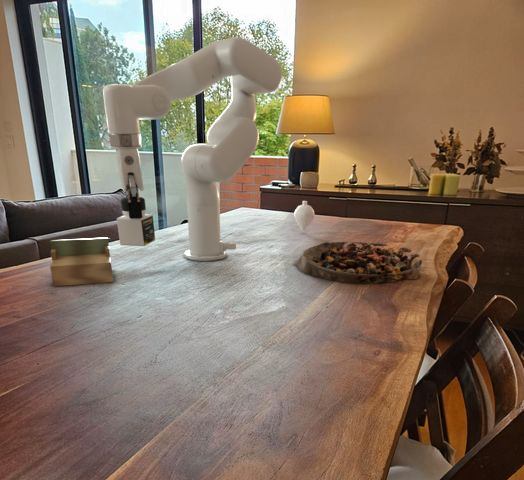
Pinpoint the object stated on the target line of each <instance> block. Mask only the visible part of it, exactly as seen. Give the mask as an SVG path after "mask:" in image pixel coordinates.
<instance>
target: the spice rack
mask: <svg viewBox="0 0 524 480" xmlns="http://www.w3.org/2000/svg"><path fill="white" fill-rule="evenodd" d="M49 243H50V247H51V250H50V257H51V262H50V266H49V270H50V274H51V279H52V284H53V287H63V286H64V287H65V286H75V285H90V284H102V283H103V284H105V283H113V282H114V275H113V268H112V259H111V252H110V245H109V238H108V237H91V238H90V237H89V238H71V239H69V238H68V239H67V238H66V239H51V240H50V242H49Z"/></svg>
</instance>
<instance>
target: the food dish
mask: <svg viewBox="0 0 524 480" xmlns="http://www.w3.org/2000/svg"><path fill="white" fill-rule="evenodd" d="M346 244H347V246H345V245H346ZM357 244H359V245H361V246H362V247H360V246H357ZM372 246H374V247H372ZM380 247H385V248H382V249H381V248H380ZM386 247H388V244H387V243H378V242H377V243H376V242H372V243H370V244H369V243H367V242H360V241H356V242H355V241H353V242H350V243H348V241H346V242H345V241H332V242H328V241H325V242H322V243H319V244H317V245H314V246H310V247H309V248H307V249H305V250H303V252H302V253H301V255H300V256H299V257H298V258H297V260H296V262H295V263H294V265H295V266H296V267H297V268H298V269H299V271H301V272H302V273H304V274H306V275H311V276H313V277H315V278H320V279H325V280H329V281H335V282H340V283H348V284H385V283H386V284H388V283H395V282H398V281H404V280H417V279H418V276H419V274H420V270H421V268H422V265H423V259H419V260H417V261H415V262H414V263H413V265H412V262H413V261H414V259H416V258H420V253H415V254H410V253H412V249H410V248H407V247H400V248H399V249H398V251H397V252H396V251H395V249H394V248H393V247H388V248H386ZM404 253H407V254H410V258H409V255H406V254H405V255H404Z"/></svg>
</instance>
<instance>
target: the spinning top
mask: <svg viewBox="0 0 524 480" xmlns="http://www.w3.org/2000/svg"><path fill="white" fill-rule="evenodd" d="M293 216H294V219H295V222H296V223H297V226H298V227H299V228H300V229H301V231H302V234H305V231H306V230H307V229H308V228H309V227H310V226H311V223H312V222H313V220H314V219H315V210H314V209H313V207H312V206H311V205H309V204H308V201H307V200H302V204H300V205H298V206H297V207H296V209H295V210H294V213H293Z"/></svg>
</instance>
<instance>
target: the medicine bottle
mask: <svg viewBox="0 0 524 480" xmlns="http://www.w3.org/2000/svg"><path fill="white" fill-rule="evenodd" d="M139 199H140V202H141V209H142V218H136V219H130V218H129V211H128V203H127V202H128V197H126V196H124V197H122V198H121V199H120V203H121V212H122V216H119V217H117V218H116V224H117V231H118V239H119V245H120V246H128V247H146V246H148V245H150V244H152V243H153V242H155V241H156V233H155V223H154V215H153V214H151V213H147V207H146V200H145V198H144V197H143V196H141V195H139Z"/></svg>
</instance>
